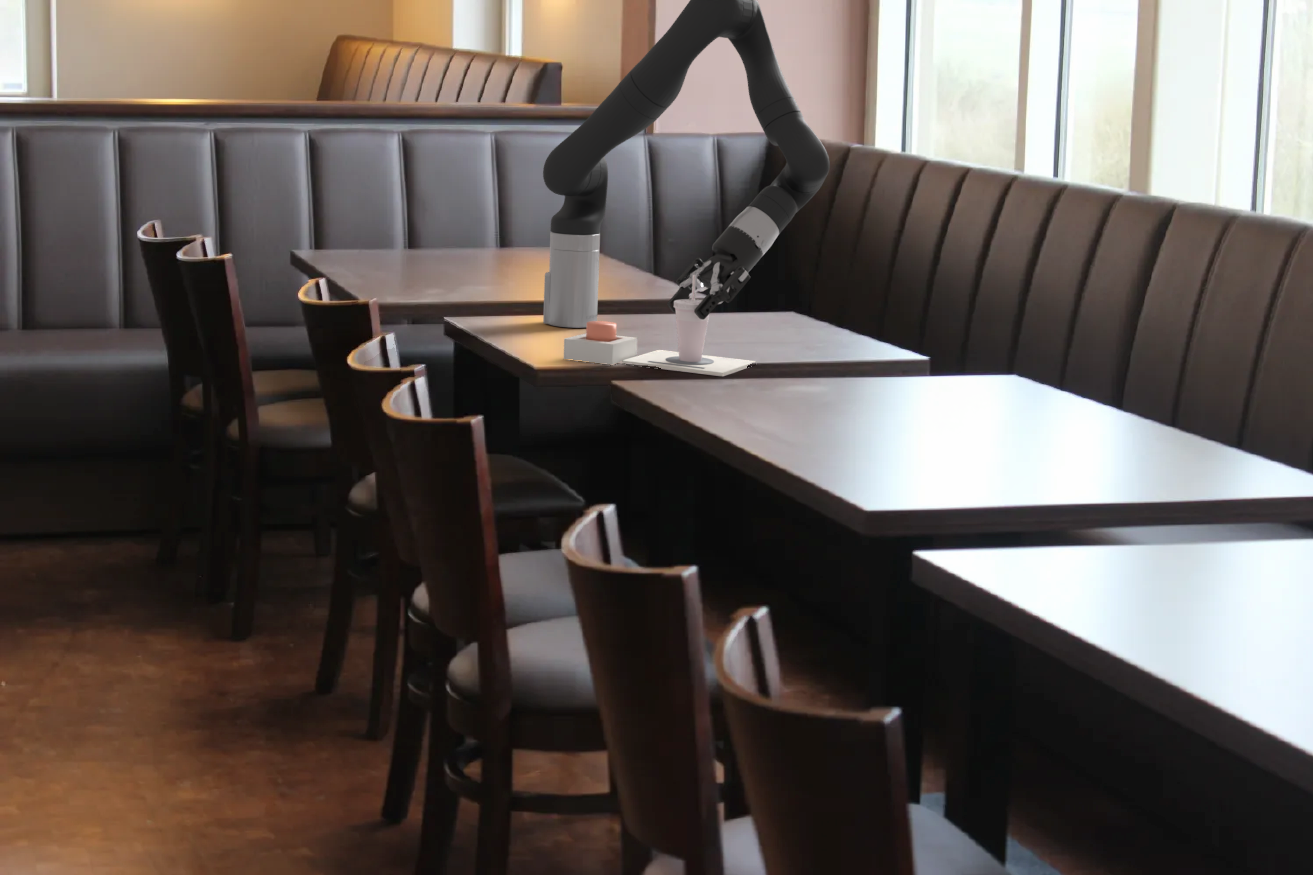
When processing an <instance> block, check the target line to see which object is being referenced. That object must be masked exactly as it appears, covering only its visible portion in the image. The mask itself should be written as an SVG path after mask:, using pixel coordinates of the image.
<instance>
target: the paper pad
mask: <svg viewBox="0 0 1313 875" xmlns="http://www.w3.org/2000/svg"><path fill="white" fill-rule="evenodd" d="M622 362H624V363H632V364H640V365H648V366H656V367H659V368H661V369H660V370H666V371H667V370H668V371H675V372H683V373H693V374H699V375H708V376H716V377H725V376H729V375H731V374H735V373H737V372H740V371H742V370H745V369H748V368H747V366H748V365H750V364H752V363H755V362H756V363H757V360H748V359H742V358H741V359H740V358H732V357H724V356H715V355H707V354H705V355H704V354H702V360H701V361H699V362H687V361H681V360H679V351H671V350H665V349H664V350H662V349H657V350H653V351H649V352H645V353H643V354H640V355H637V356H636V357H632V358H629V359H625V360H622Z"/></svg>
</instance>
